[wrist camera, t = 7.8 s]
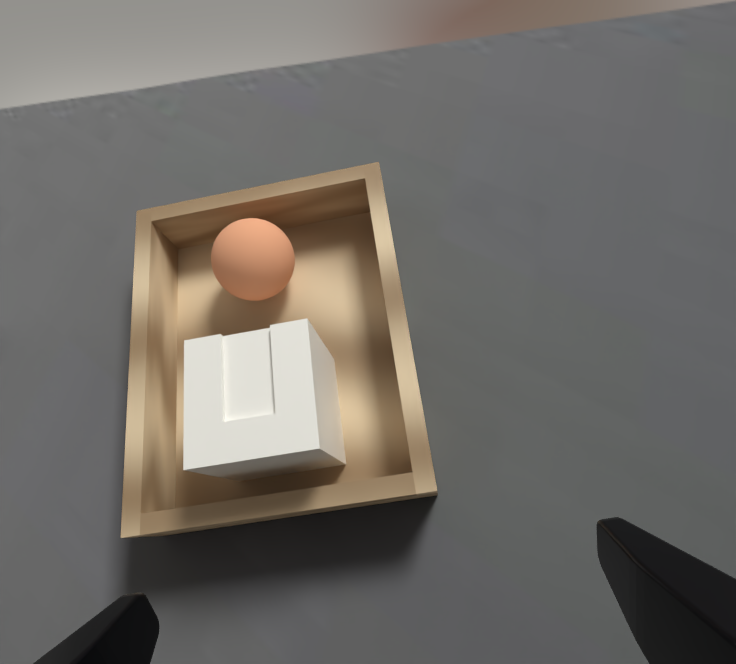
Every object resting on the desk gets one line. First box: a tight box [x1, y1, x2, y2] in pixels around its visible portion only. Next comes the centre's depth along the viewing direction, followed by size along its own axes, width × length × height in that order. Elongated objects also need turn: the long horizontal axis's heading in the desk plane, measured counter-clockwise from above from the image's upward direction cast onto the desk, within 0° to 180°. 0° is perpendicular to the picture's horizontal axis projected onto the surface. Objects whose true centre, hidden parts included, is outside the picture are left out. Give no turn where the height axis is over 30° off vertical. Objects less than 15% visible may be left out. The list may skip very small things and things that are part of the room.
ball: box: [211, 218, 295, 301], centre depth 24 cm, size 4×4×4 cm
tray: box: [121, 162, 438, 538], centre depth 24 cm, size 16×13×3 cm
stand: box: [183, 318, 346, 481], centre depth 21 cm, size 5×5×6 cm
